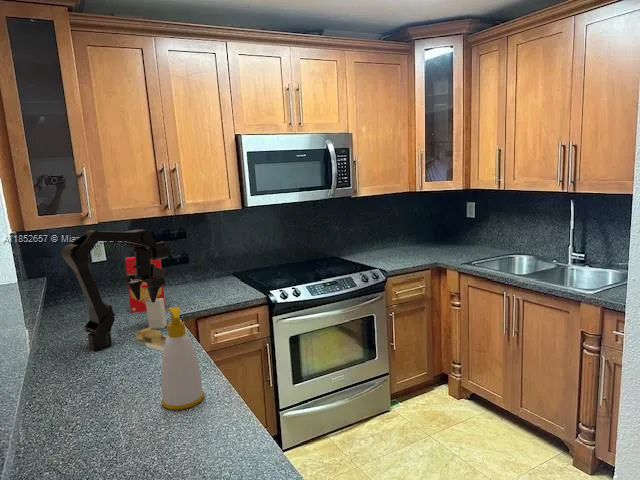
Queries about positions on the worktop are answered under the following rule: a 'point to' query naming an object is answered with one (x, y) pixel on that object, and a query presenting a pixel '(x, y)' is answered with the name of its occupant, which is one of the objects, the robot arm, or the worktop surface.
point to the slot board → (152, 345)
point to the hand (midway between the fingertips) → (145, 301)
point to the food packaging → (141, 287)
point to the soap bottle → (180, 367)
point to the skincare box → (156, 313)
